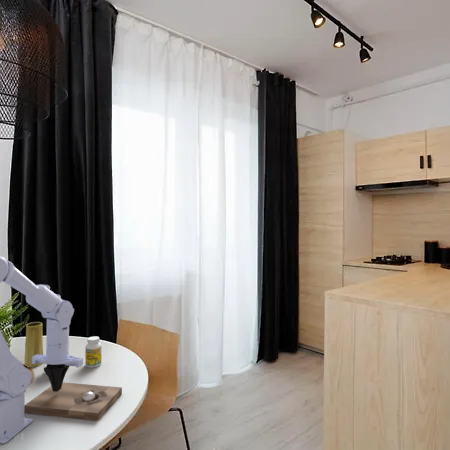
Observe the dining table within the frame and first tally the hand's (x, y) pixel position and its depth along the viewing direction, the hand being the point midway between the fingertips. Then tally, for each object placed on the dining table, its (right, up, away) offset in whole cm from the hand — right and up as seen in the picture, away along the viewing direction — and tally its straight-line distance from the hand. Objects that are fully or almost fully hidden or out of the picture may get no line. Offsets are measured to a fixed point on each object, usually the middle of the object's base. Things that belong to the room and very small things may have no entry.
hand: (57, 390), depth 99 cm
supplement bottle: (+1, -3, +25) cm, 25 cm away
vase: (-20, -3, +25) cm, 33 cm away
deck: (+6, -3, -1) cm, 7 cm away
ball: (+10, -2, -1) cm, 10 cm away
